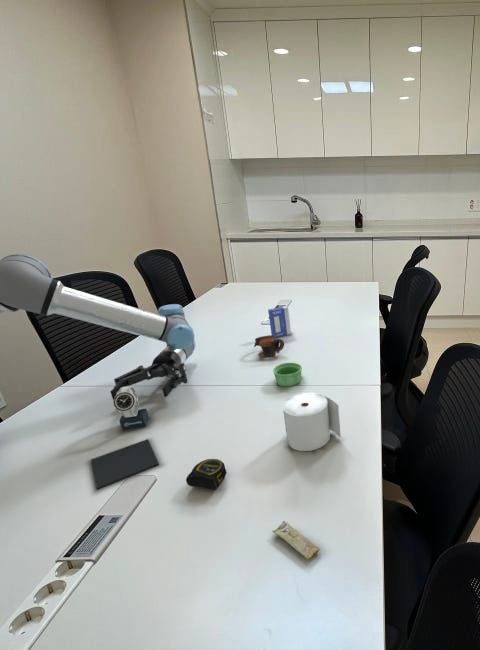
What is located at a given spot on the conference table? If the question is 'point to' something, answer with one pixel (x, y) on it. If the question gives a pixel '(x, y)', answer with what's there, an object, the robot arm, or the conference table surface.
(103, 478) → the dark mat
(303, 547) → the snack bar
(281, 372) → the ramekin
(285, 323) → the walkman
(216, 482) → the tape measure
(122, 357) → the conference table surface
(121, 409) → the watch
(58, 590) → the conference table surface
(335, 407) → the toilet tissue
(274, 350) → the pottery mug
